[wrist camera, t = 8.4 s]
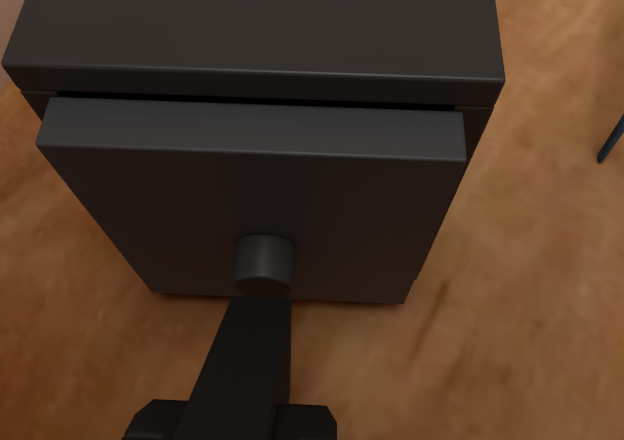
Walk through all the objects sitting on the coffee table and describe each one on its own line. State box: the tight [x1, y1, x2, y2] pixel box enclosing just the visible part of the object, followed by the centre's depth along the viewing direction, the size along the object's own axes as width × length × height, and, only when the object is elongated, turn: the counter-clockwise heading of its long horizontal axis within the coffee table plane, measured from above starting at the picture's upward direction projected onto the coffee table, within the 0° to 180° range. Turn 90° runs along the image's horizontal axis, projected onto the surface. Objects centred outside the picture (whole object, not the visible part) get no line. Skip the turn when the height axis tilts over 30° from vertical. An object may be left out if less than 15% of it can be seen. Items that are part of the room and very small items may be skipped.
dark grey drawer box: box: [1, 0, 506, 280], centre depth 18 cm, size 13×10×11 cm
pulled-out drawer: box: [36, 93, 467, 304], centre depth 17 cm, size 13×8×9 cm, turn 177°
